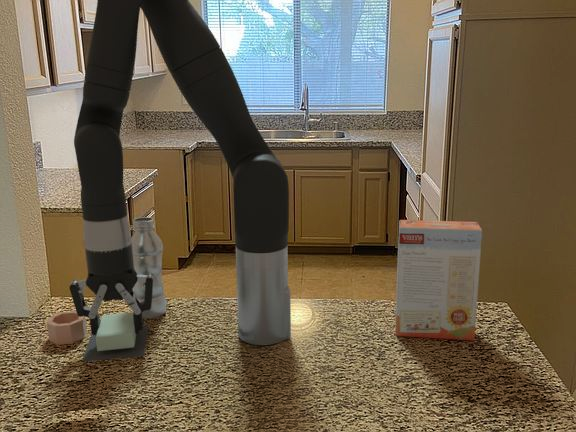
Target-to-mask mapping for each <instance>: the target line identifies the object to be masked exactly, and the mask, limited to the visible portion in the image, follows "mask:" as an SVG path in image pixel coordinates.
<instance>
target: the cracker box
mask: <svg viewBox="0 0 576 432" xmlns="http://www.w3.org/2000/svg"><path fill="white" fill-rule="evenodd" d="M482 239H483V229H482V228H481V226H480V225H479V223H478V221H455V220H454V221H451V220H449V221H448V220H420V219H418V220H417V219H415V220H414V219H400V220H399V221H398V240H397V241H398V242H397V243H398V244H397V245H398V247H397V265H396V266H397V267H396V268H397V269H396V292H395V293H396V294H395V295H396V299H395V337H396V336H397V337H407V338H408V337H409V338H410V337H411V338H412V337H413V338H425V339H443V340H457V341H458V340H459V341H470V342H471V341H475V335H476V334H475V333H476V324H477V323H476V321H477V310H478V309H477V307H478V296H479V295H478V294H479V283H480V281H479V279H480V267H481V266H480V265H481V254H482V253H481V252H482Z"/></svg>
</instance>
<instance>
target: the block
mask: <svg viewBox="0 0 576 432" xmlns="http://www.w3.org/2000/svg"><path fill="white" fill-rule="evenodd" d="M133 313H134V312H133V311H132V312H131V311H130V312H122V313H121V312H119V313H110V314H109V313H107V314H103V315H102V317H101V318H100V322H101V323H100V326H99V328H98V332H97V335H96V345H97V351H104V350H113V349H123V348H132V347H134V346H135V340H136V334H135V326H134V319H133Z"/></svg>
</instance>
